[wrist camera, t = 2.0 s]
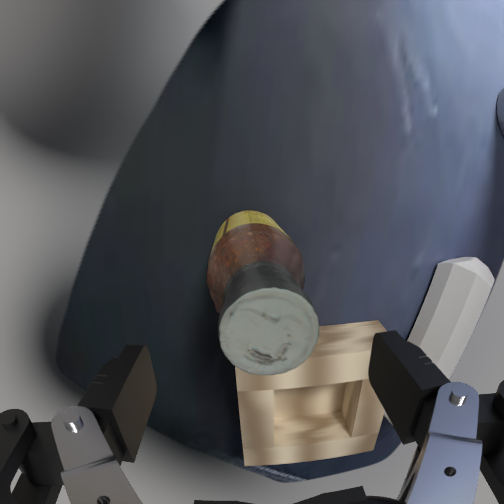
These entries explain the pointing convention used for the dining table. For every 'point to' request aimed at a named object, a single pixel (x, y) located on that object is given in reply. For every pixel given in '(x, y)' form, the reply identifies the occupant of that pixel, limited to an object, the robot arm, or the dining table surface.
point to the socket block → (313, 402)
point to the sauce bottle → (260, 296)
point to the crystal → (451, 311)
